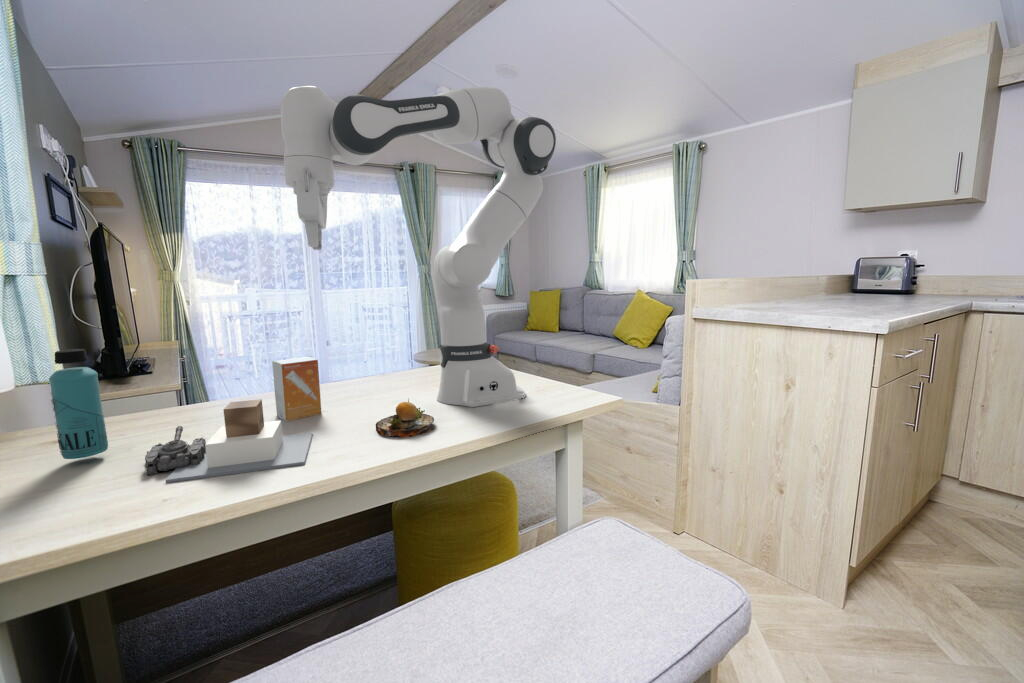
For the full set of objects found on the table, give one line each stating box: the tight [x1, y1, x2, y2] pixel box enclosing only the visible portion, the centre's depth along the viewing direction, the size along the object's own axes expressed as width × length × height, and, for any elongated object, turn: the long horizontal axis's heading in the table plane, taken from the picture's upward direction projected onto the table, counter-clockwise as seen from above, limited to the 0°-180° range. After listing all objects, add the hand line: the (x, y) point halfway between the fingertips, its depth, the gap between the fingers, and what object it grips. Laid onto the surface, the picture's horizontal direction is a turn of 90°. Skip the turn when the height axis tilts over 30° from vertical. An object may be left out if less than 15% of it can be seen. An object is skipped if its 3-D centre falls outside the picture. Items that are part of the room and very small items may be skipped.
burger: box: [375, 398, 435, 439], centre depth 97 cm, size 12×12×8 cm
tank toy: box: [144, 425, 207, 476], centre depth 82 cm, size 12×10×5 cm
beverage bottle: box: [48, 348, 109, 460], centre depth 82 cm, size 6×7×20 cm
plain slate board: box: [165, 432, 314, 484], centre depth 84 cm, size 20×16×1 cm
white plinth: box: [205, 419, 284, 468], centre depth 84 cm, size 10×10×4 cm
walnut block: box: [223, 398, 265, 438], centre depth 83 cm, size 5×5×5 cm
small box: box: [271, 356, 322, 422], centre depth 108 cm, size 8×6×13 cm
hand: (315, 248), depth 94 cm, fingers open, 8 cm apart
